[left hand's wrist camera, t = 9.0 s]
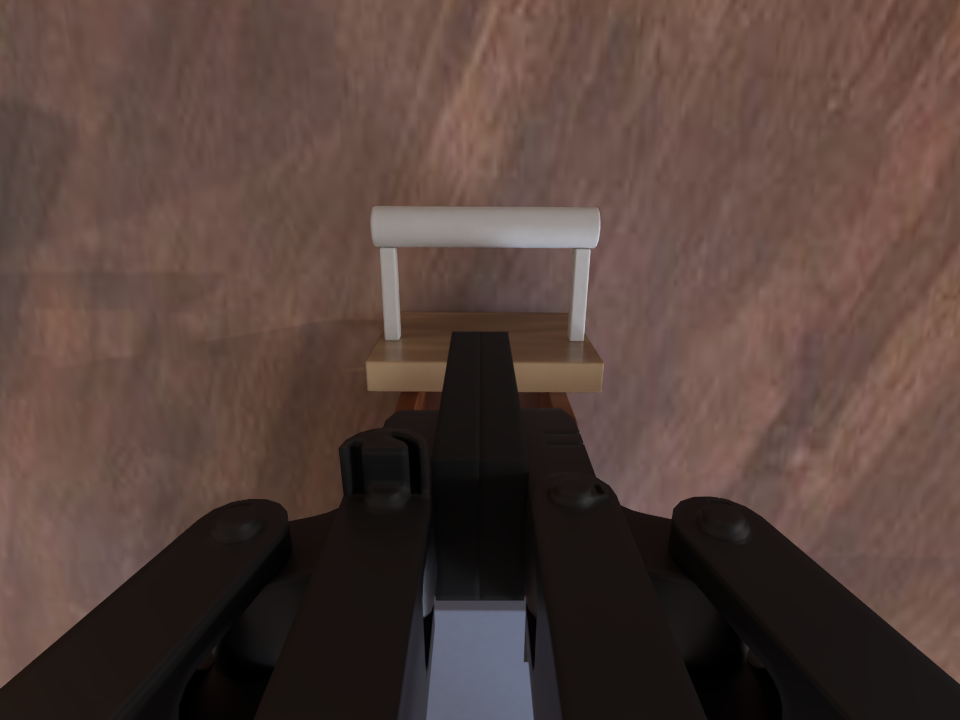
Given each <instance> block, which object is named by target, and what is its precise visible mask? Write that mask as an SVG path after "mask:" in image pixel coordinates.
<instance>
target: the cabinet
mask: <svg viewBox="0 0 960 720" xmlns="http://www.w3.org/2000/svg"><path fill="white" fill-rule="evenodd" d="M434 614H435V632H434V643H433V653H432V664H431V675H430V686H429V696H428V707H427V718H426V720H534V717H533V706H532V695H531V685H530V674H529V663H528V662H524V640H525V614H526V596H524V601H436V596H435V598H434Z"/></svg>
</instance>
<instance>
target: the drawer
mask: <svg viewBox="0 0 960 720" xmlns="http://www.w3.org/2000/svg"><path fill="white" fill-rule="evenodd" d="M370 227H371V237H372V241H373V244H374V246H376V247H381V248H380V266H381V284H382V301H383V318H384V331H383V333H382V335H381V336H380V338H379V340H378V341H377V343H376V345H375V347H374V348H373V350H372V352H371V353H370V355H369V357H368V358H367V360H366V362H365V367H366V380H367V390H368V391H402V392H401V395H400V398H399V401H398V403H397V406H396V409H395V412H394V414H395V413H396V412H397V411H398V410H439V407H440V401H441V395H442V389H443V383H444V377H445V371H446V365H447V359H448V353H449V347H450V341H451V334H452V331H508V334H509V341H510V347H511V353H512V359H513V365H514V371H515V377H516V383H517V389H518V395H519V401H520V407H521V408H561V409H563V410H564V411H565V412H566V413H568V414H569V415H570V416H571V417H573V418H574V419H575V421H576V418H575V416H574V413H573V411H572V408H571V405H570V403H569V400H568V397H567V395H566V392H601V391H602V381H603V370H604V363H603V361H602V359H601V358H600V356H599V355H598V353H597V351H596V350H595V348H594V347H593V345H592V343H591V342H590V340H589V339H588V337H587V335H586V334H585V332H584V330H585V317H586V303H587V290H588V277H589V264H590V249H589V248H595V247H596V246H597V243H598V240H599V234H600V213H599V210H598V208H596V207H474V206H374V207H373V208H372V211H371V219H370ZM397 247H484V248H573V256H572V272H571V287H570V303H569V313H470V312H400V303H399V282H398V261H397ZM576 424H577V421H576ZM435 596H436V591H435ZM524 596H526V595H525V591H524Z"/></svg>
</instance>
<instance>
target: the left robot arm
mask: <svg viewBox="0 0 960 720" xmlns="http://www.w3.org/2000/svg"><path fill="white" fill-rule="evenodd" d="M339 455H340V465H341V474H342V484H343V493H344V496H343V499H342V501H341V504H340V506H339V508H337V509H335V510H333V511H331V512H328V513H325V514H321V515H317V516H314V517H309V518H304V519H299V520H294V521H289V522H288V515H287V511H286V510H285V509H284V508H283V507H282V506H281V505H280V504H279V503H276V502H273V501H270V500H267V499H248V500H242V501H236V502H231V503H229V504H227V505H224V506H222V507H219V508H217V509H214V510H212V511H211V512H209V513H208V514H206V515H205V516H203V517H202V518H200V519H199V520H197V521H196V522H195V523H194V524H193V525H192V526H190V527H189V528H188V529H187V530H186V531H185V532H183V533H182V534H181V535H180V536H179V537H178V538H176V539H175V540H174V541H173V542H172V543H171V544H169V545H168V546H167V547H166V548H165V549H163V550H162V551H161V552H160V553H159V554H158V555H156V556H155V557H154V558H153V559H152V560H151V561H149V562H148V563H147V564H146V565H145V566H144V567H142V568H141V569H140V570H139V571H138V572H137V573H135V574H134V575H133V576H132V577H131V578H130V579H128V580H127V581H126V582H125V583H124V584H122V585H121V586H120V587H119V588H118V589H117V590H115V591H114V592H113V593H112V594H111V595H110V596H108V597H107V598H106V599H105V600H104V601H103V602H101V603H100V604H99V605H98V606H97V607H96V608H94V609H93V610H92V611H91V612H90V613H89V614H87V615H86V616H85V617H84V618H83V619H82V620H80V621H79V622H78V623H77V624H76V625H74V626H73V627H72V628H71V629H70V630H69V631H67V632H66V633H65V634H64V635H63V636H62V637H60V638H59V639H58V640H57V641H56V642H55V643H53V644H52V645H51V646H50V647H49V648H48V649H46V650H45V651H44V652H43V653H42V654H41V655H39V656H38V657H37V658H36V659H35V660H33V661H32V662H31V663H30V664H29V665H28V666H26V667H25V668H24V669H23V670H22V671H21V672H19V673H18V674H17V675H16V676H15V677H14V678H12V679H11V680H10V681H9V682H8V683H7V684H5V685H4V686H3V687H2V688H1V689H0V720H426V718H427V707H428V696H429V686H430V675H431V664H432V653H433V643H434V632H435V614H434V598H435V591H436V601H524V591H525V595H526V614H525V640H524V662H528V663H529V674H530V685H531V695H532V706H533V717H534V720H960V684H959V683H958V682H956V681H955V680H954V679H953V678H952V677H950V676H949V675H948V674H947V673H946V672H945V671H943V670H942V669H941V668H940V667H939V666H937V665H936V664H935V663H934V662H933V661H932V660H930V659H929V658H928V657H927V656H926V655H924V654H923V653H922V652H921V651H920V650H919V649H917V648H916V647H915V646H914V645H913V644H911V643H910V642H909V641H908V640H907V639H906V638H904V637H903V636H902V635H901V634H900V633H898V632H897V631H896V630H895V629H894V628H893V627H891V626H890V625H889V624H888V623H887V622H885V621H884V620H883V619H882V618H881V617H880V616H878V615H877V614H876V613H875V612H874V611H872V610H871V609H870V608H869V607H868V606H867V605H865V604H864V603H863V602H862V601H861V600H859V599H858V598H857V597H856V596H855V595H854V594H852V593H851V592H850V591H849V590H848V589H846V588H845V587H844V586H843V585H842V584H841V583H839V582H838V581H837V580H836V579H835V578H833V577H832V576H831V575H830V574H829V573H828V572H826V571H825V570H824V569H823V568H822V567H820V566H819V565H818V564H817V563H816V562H815V561H813V560H812V559H811V558H810V557H809V556H807V555H806V554H805V553H804V552H803V551H802V550H800V549H799V548H798V547H797V546H796V545H794V544H793V543H792V542H791V541H790V540H789V539H787V538H786V537H785V536H784V535H783V534H781V533H780V532H779V531H778V530H777V529H776V528H774V527H773V526H772V525H771V524H770V523H768V522H767V521H766V520H765V519H764V518H763V517H761V516H760V515H758V514H757V513H755V512H754V511H752V510H750V509H749V508H747V507H745V506H743V505H740V504H738V503H735V502H732V501H730V500H727V499H723V498H718V497H692V498H689V499H686V500H683V501H680V503H679V504H678V505H677V506H676V507H675V508H674V509H673V515H672V519H668V518H663V517H658V516H653V515H648V514H644V513H640V512H637V511H633V510H630V509H628V508H626V507H623V506H621V505H620V503H619V500H618V498H617V496H616V494H615V493H614V491H613V490H612V489H611V487H610V486H609V485H607V484H606V483H604V482H603V481H601V480H600V479H598V478H596V476H595V473H594V470H593V468H592V465H591V462H590V459H589V457H588V454H587V451H586V449H585V446H584V445H583V440H582V438H581V435H580V434H579V430H578V427H577V424H576V421H575V419H574V418H573V417H571V416H570V415H569V414H568V413H566V412H565V411H564V410H563V409H561V408H521V407H520V401H519V395H518V389H517V383H516V377H515V371H514V365H513V359H512V353H511V347H510V341H509V334H508V331H452V334H451V341H450V347H449V353H448V359H447V365H446V371H445V377H444V383H443V389H442V395H441V401H440V407H439V410H398V411H397V412H396V413H395V414H393V415H392V416H391V417H390V418H388V419H387V420H386V421H385V424H384V426H383V428H379V429H372V430H368V431H365V432H361V433H358V434H356V435H354V436H353V437H351V438H349V439H347V440H346V441H345V442H344V443H343V444H342V445H341V446H340V448H339Z"/></svg>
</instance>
